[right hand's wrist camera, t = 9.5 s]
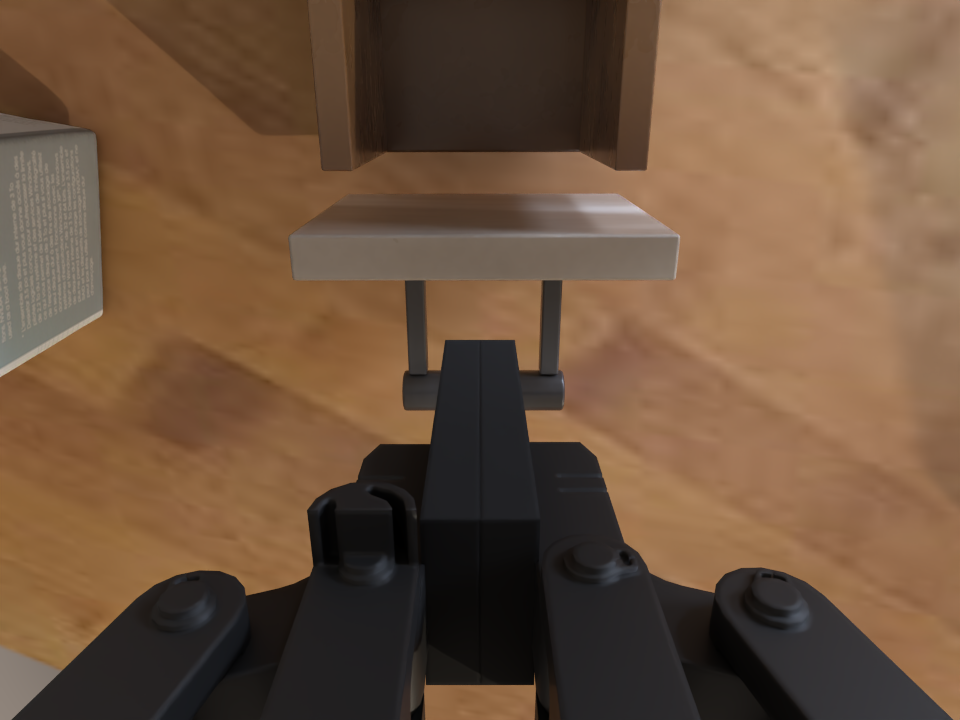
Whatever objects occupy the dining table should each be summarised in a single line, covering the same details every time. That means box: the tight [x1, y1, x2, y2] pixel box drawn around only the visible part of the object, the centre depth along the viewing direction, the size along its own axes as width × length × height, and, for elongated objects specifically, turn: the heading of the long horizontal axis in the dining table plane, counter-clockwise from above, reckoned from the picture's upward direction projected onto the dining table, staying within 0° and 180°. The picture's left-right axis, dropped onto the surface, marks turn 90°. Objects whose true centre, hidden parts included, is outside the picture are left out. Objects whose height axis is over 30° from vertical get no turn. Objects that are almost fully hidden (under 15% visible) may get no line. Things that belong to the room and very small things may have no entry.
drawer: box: [288, 0, 680, 410], centre depth 18 cm, size 24×10×8 cm, turn 0°
